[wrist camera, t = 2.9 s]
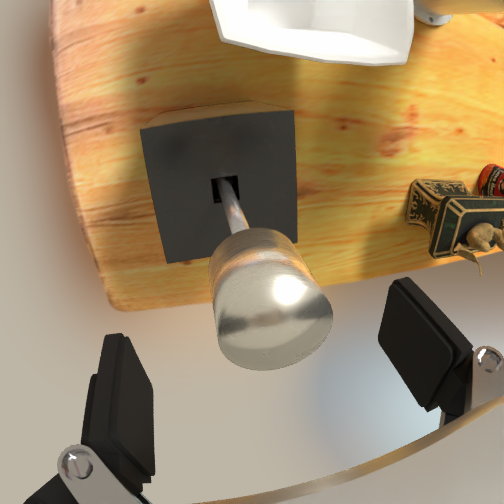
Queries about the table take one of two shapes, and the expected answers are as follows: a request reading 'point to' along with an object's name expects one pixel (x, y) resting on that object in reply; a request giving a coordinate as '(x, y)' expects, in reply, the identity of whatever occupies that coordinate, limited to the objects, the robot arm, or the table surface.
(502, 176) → the canned food
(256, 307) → the plunger
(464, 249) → the decorative box
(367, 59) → the bowl
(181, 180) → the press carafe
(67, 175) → the table surface
